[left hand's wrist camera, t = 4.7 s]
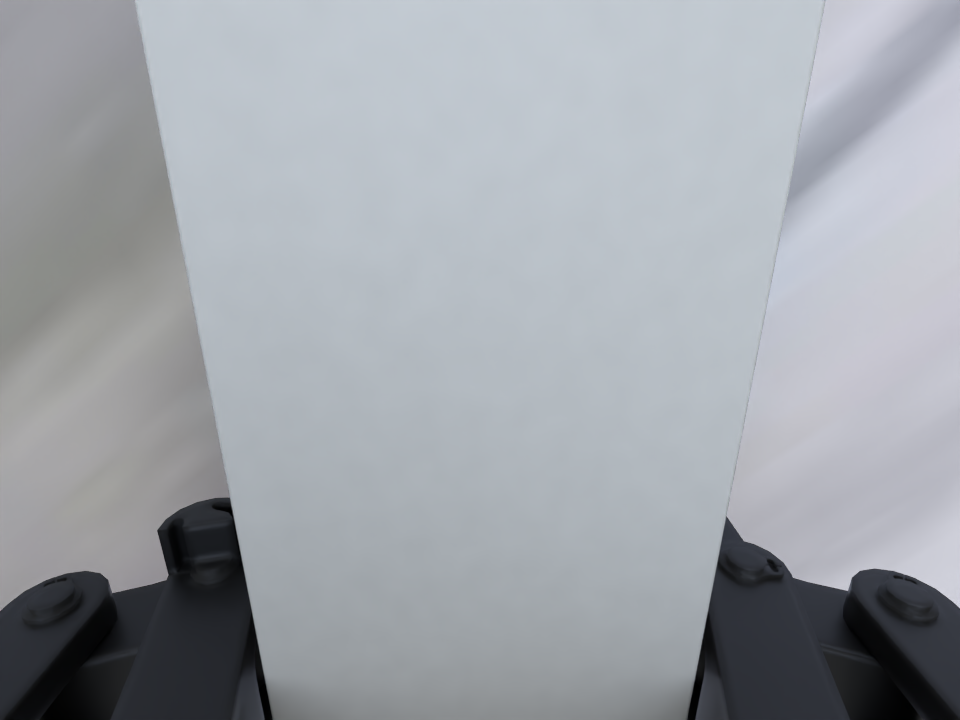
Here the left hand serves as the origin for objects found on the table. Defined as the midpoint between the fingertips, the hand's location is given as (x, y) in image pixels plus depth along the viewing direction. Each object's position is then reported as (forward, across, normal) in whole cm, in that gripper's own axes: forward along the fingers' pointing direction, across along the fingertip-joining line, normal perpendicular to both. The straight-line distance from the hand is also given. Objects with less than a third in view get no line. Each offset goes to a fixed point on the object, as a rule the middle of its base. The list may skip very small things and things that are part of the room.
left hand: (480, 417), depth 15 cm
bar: (+1, 0, -9) cm, 9 cm away
